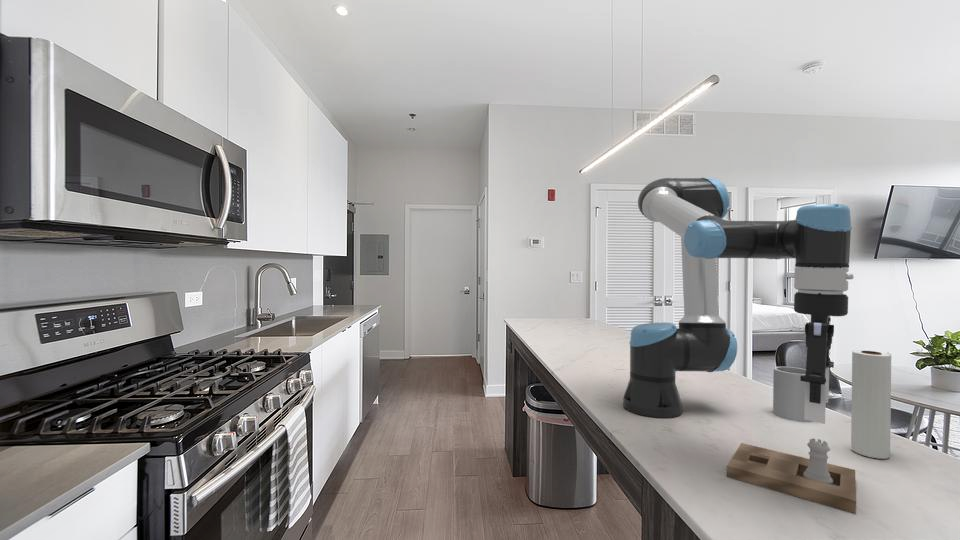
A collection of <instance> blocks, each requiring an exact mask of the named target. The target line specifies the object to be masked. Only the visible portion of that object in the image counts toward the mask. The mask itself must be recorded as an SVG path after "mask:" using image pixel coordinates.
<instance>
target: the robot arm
mask: <svg viewBox="0 0 960 540" xmlns="http://www.w3.org/2000/svg"><path fill="white" fill-rule="evenodd" d="M637 207H638V210H639V212H640V213H641V215H642V216H644V217H645V218H646V219H648V221H651V222H655V223H660V224H661V225H663V226H664V227H666V228H668V229H670V230H671V231H672V232H674V233H675V234H676V235H678V236H679V237H680V241H681V242H680V244H681V265H682V268H681V269H682V291H683V292H682V293H683V294H682V295H683V314H684V315H683V316H682V318H681V319H680V320H678V328H677V325H676V324H675V323H672V322H648V323H641V324H637V325H636V326H634V327H633V328H632V329H631V331H630V340H629V348H630V350H629V381H628V383H627V385H626V389H625V391H624V395H623V397H622V406H623V409H624V408H625V409H626V410H627V411H629V412H631V413H634V414H635V415H636V414H637V415H641V416H645V417H651V418H675V417H676V418H677V417H678V416H679V417H680V416H682V414H683V403H682V400H681V397H680V393H679V390H678V386H677V384H676V373H677V372H706V373H713V372H724V371H727V370H728V369H730V368H731V367H732V365H733V364H734V363H735V360H736V358H737V354H738V342H737V338H736V337H735V336H736V335H735V333H734V332H733V331H732V330H731V329H728V328H727V323H726V321H725V320H724V319H722V318H721V316H720V311H719V310H720V309H719V307H720V306H719V291H718V286H719V285H718V271H717V270H718V269H717V259H766V260H782V259H789V260H790V259H795V263H794V278H793V279H794V280H793V281H794V283H793V287H794V289H795V290H797V291H796V292H795V293H794V298H793V299H794V300H793V310H794V312H796V313H797V314H802V315H810V321H809V322H806V323H805V324H804V335H805V347H806V361H805V369H806V374H805V376H801V377H800V380H801V381H804V382H805V411H804V420H809V421H813V423H818V424H826V408H827V407H826V404H829V393H830V392H829V391H830V390H829V389H830V387H829V386H830V368H834V365H835V364H834V363H835V362H834V361H831V357H830V350H831V348H832V344H833V337H834V333H835V325H834V324H830V322H831V320H832V319H831V317H845V316H847V315H848V313H849V296H848V295H847V294H845V293H844V292H847V291H848V290H849V281H848V280H854V278H855V277H854V275H853V273H848V272H849V269H850V256H851V255H850V253H851V252H850V251H851V249H850V248H851V233H852V232H851V231H852V229H853V227H852V222H851V209H850V207H849V206H847V205H846V204H842V203H819V204H808V205H803V206H801V207H799V208H798V209H797V210H796V217H795V219H791V220H726V219H724V218H725V217H726V215H727V214H728V212H729V207H730V195H729V192H728V189H727V187H726V186H725V184H724V182H723V183H722V181H720V180H719V179H716V178H707V177H700V178H699V177H695V178H694V177H693V178H692V177H691V178H690V177H684V178H683V177H681V178H679V177H674V178H673V177H663V178H658V179H656V180H654V181H651V182H649V183H648V184H647V185H645V186H644V188H642V190H641V191H640V193H639V196H638V198H637ZM625 409H624V410H625Z"/></svg>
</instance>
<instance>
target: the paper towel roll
mask: <svg viewBox="0 0 960 540" xmlns="http://www.w3.org/2000/svg"><path fill="white" fill-rule="evenodd" d="M851 352H852V354H851V419H850V421H851V424H850V425H851V427H850V429H851V430H850V431H851V432H850V433H851V434H850V448H851V450H852V451H853V452H855V453H856V454H858V455H861V456H865V457H868V458H874V459H879V460H885V459H889V458H890V457H891V421H892V419H891V416H892V413H891V411H892V408H891V407H892V406H891V405H892V402H891V401H892V354H891V353H889V351H887V352H882V351H881V352H878V351H874V350H873V351H872V350H852V351H851Z"/></svg>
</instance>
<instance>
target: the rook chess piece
mask: <svg viewBox="0 0 960 540" xmlns="http://www.w3.org/2000/svg"><path fill="white" fill-rule="evenodd" d="M806 445H807V447H808V448H809V452H808V456H809V459H810V460H809V465H808V468H806V471H804V473H803V476H802V477H804V478H808V479H812V480H815V481H819V482H823V483H827V484H831V485H834V484H833V479H832V478H831V477H830V474H829V472H828V466H827V463H828V459H829V456H828V453H829V452H830V451H831V448H830V447H829V445H828V442H827V441H825V440H823V441H822V439H819V438H818V439H817V440H816V438H810V439H809V441H808V443H807V444H806Z"/></svg>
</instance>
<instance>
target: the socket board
mask: <svg viewBox="0 0 960 540" xmlns="http://www.w3.org/2000/svg"><path fill="white" fill-rule="evenodd" d="M809 460H810V458H806V457H802V456H798V455H794V454H790V453H785V452H782V451H777V450H772V449H769V448H764V447H761V446H755V445H751V444H748V443H743V442H741V443H740V444H739V446H738V448H737V450H736V451H735V452H734V454H733V455H732V457H731V459H730V460H729V462H728V463H727V465H726V477H728V478H732V479H734V480H738V481H742V482H745V483H749V484H753V485H756V486H759V487H762V488H766V489H769V490H772V491H776V492H779V493H784V494H787V495H790V496H793V497H797V498H801V499H804V500H808V501H811V502H815V503H818V504H822V505H825V506H829V507H833V508H835V509H839V510H842V511H846V512H849V513H853V514H857V494H856V493H857V490H856V489H857V487H856V486H857V484H856V482H857V481H856V480H857V479H856V469H853V468H850V467H844V466H842V465H836V464H832V463H828V462H827V466H828V472H829V474H830V477H831V478H832V479H833V484H832V485H831V484H827V483H823V482H819V481H815V480H812V479H808V478H804V476H803V473H804V471H806V468H808V465H809ZM834 484H835V485H834Z"/></svg>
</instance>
